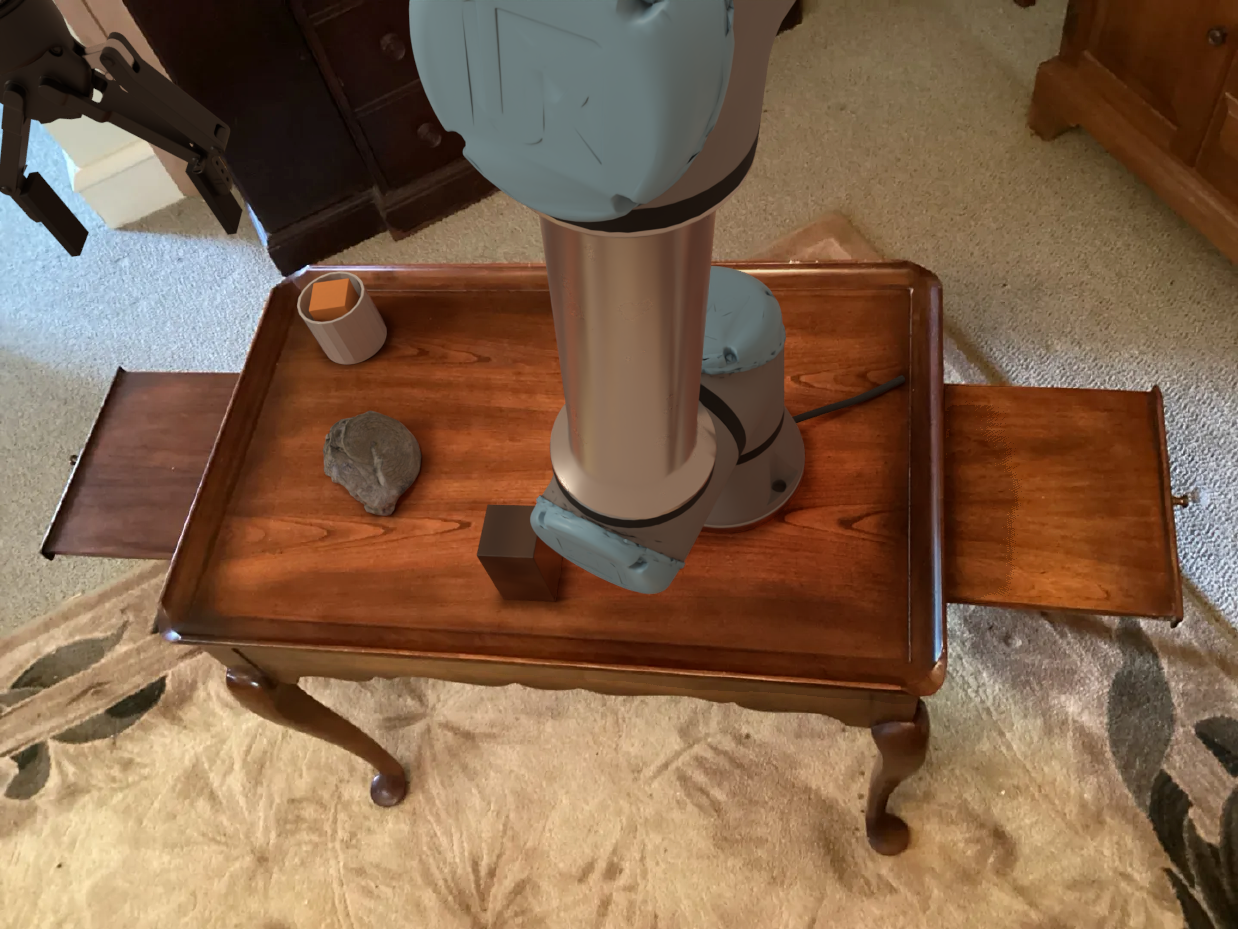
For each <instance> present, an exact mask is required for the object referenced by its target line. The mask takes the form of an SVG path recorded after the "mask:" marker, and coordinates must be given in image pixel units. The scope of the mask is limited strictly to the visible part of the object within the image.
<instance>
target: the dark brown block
mask: <svg viewBox="0 0 1238 929" xmlns="http://www.w3.org/2000/svg"><path fill="white" fill-rule="evenodd" d="M534 508H535V505H527V504H526V505H524V504H491V503H490V504H487V505H486V510H485V514H484V519H483V523H482V528H481V533H480V537H479V542H478V546H477V550H476V551H477V552H476V557H477V559H478V560H479V562H480V564H481V565H482V567H483V569H484V570H485V573H487V575H488V578H490V580H491V582H492V583H493V585H494V587H495V589H496V590H497V591H498V593H499V595H500V597H501V598H502V599H503V600H509V601H510V600H512V601H533V602H549V603H550V602H552V603H556V601H557V596H558V588H559V584H560V578H561V572H562V565H563V558H564V557H563V556H562V555H560V554H559V553H557V552H556V551H555V550H553V549H552V548H551V547H549V546H548V545H547V544H546V543H545V542H543V541H542V540H541V539H540V538H539V537H538V535H537V534H536V533H535V531H534V530H533V528H532V526H531V522H530V517H531V513H532V511H533V510H534Z"/></svg>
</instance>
